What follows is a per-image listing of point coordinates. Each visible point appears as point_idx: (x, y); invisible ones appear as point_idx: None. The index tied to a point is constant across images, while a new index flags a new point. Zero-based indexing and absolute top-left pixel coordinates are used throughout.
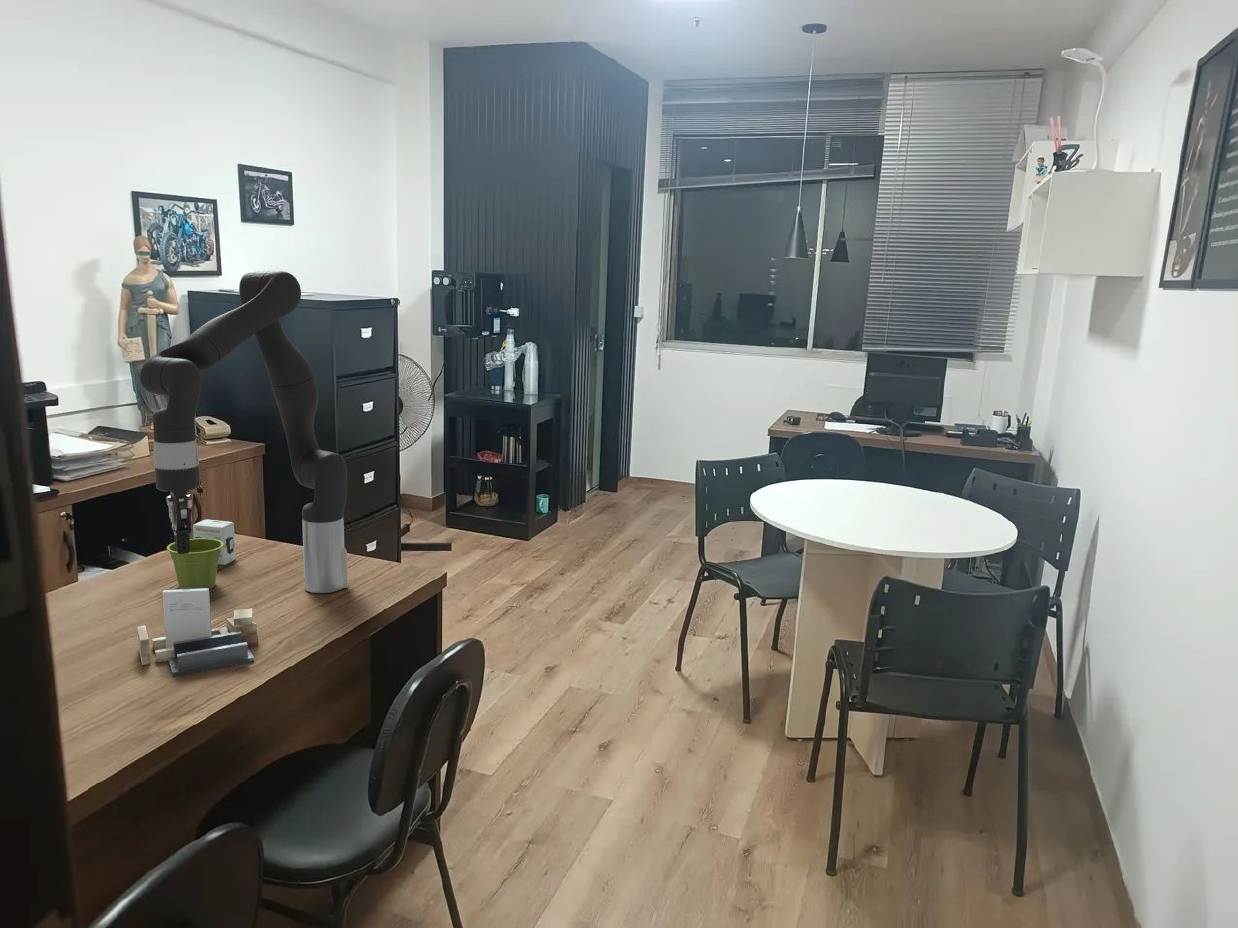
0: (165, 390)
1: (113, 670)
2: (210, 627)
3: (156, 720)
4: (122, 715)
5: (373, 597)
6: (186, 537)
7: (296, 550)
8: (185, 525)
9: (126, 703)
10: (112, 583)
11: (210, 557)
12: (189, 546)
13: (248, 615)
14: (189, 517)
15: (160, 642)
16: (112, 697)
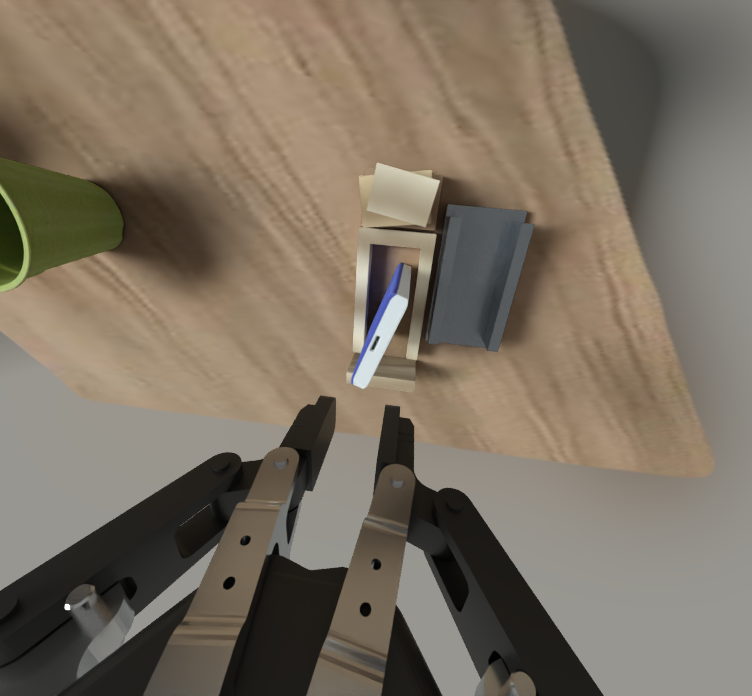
0: None
1: (410, 400)
2: (407, 274)
3: (621, 394)
4: (567, 420)
5: None
6: (413, 470)
7: None
8: (297, 474)
9: (533, 409)
10: (44, 336)
11: (22, 188)
12: (398, 421)
13: (423, 186)
14: (569, 659)
15: (364, 340)
16: (500, 418)
